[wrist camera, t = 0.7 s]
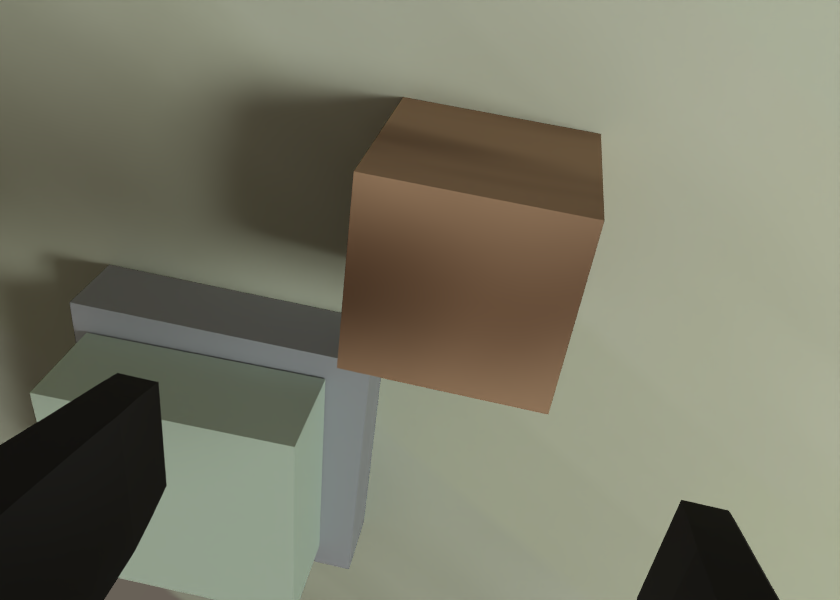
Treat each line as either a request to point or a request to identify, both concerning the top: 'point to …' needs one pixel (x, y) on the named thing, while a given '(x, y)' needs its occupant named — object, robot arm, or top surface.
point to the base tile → (261, 346)
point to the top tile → (217, 467)
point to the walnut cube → (470, 252)
